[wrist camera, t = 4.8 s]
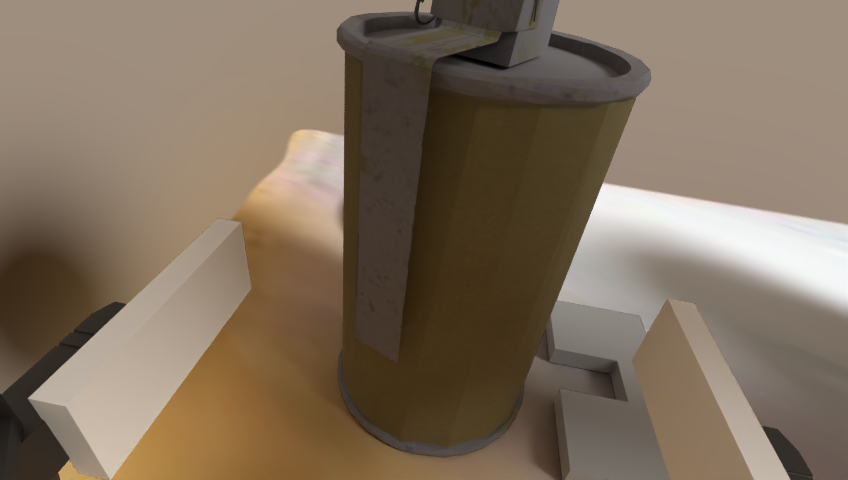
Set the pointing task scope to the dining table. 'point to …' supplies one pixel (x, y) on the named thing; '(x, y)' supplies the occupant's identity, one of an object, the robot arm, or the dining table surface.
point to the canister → (465, 206)
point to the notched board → (598, 416)
